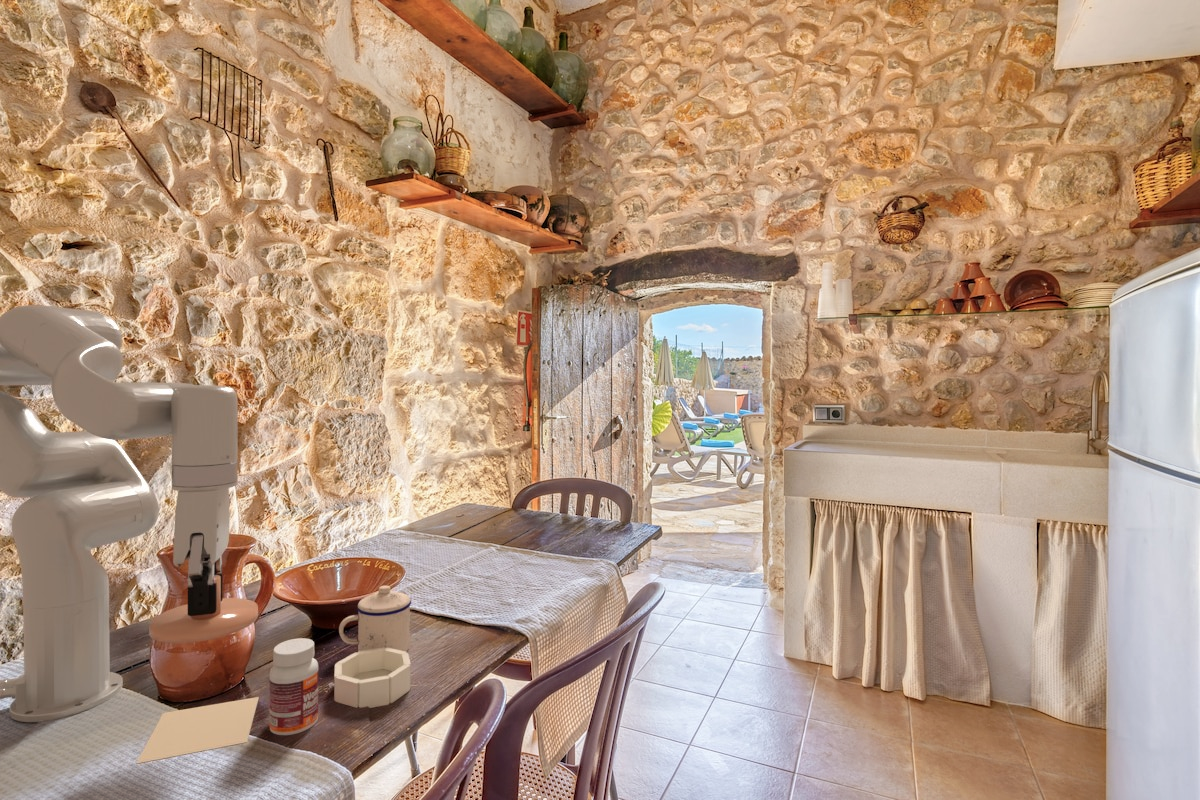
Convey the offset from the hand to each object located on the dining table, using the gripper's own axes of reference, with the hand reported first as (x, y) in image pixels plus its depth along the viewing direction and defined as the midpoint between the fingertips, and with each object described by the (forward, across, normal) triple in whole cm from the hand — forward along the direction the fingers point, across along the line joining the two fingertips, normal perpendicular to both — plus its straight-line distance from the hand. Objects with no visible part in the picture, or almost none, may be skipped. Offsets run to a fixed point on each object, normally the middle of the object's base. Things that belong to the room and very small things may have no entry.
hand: (205, 607), depth 81 cm
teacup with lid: (+17, -16, +23) cm, 33 cm away
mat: (+17, 0, 0) cm, 17 cm away
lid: (+2, 0, 0) cm, 2 cm away
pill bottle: (+17, +3, +11) cm, 21 cm away
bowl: (+17, -3, +22) cm, 28 cm away
